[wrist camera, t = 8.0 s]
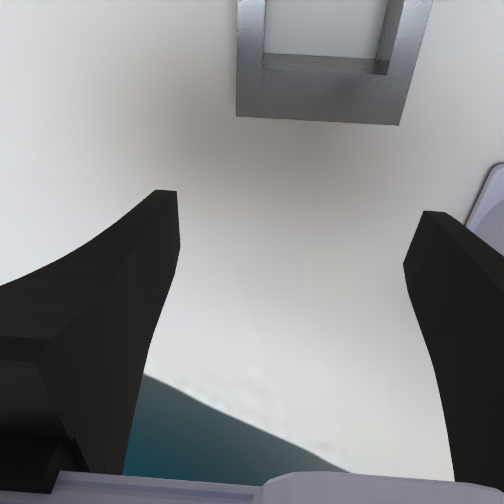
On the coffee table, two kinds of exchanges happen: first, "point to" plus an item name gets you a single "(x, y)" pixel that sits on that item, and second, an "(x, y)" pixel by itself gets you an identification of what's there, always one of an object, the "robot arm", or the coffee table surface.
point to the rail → (329, 72)
